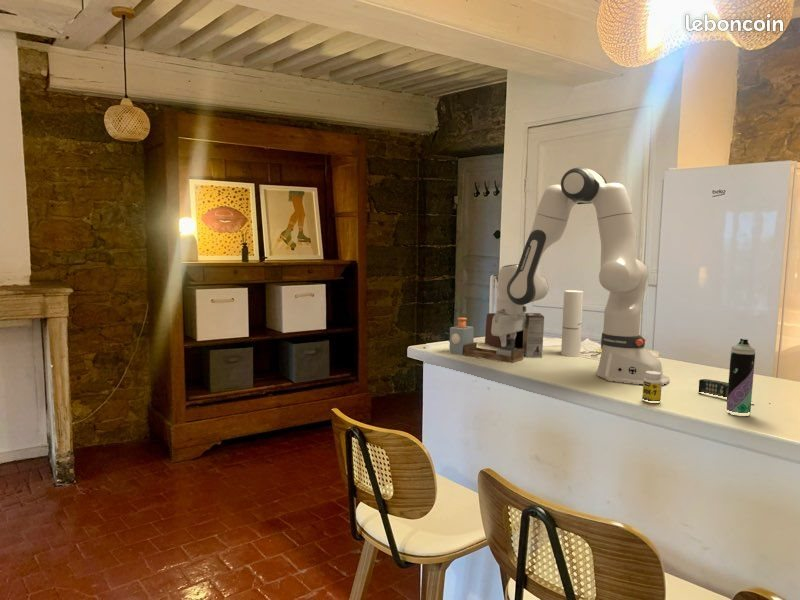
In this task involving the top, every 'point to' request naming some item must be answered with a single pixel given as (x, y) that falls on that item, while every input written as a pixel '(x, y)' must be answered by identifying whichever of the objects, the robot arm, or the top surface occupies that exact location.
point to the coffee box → (533, 335)
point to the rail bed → (491, 353)
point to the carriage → (507, 348)
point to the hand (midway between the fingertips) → (507, 345)
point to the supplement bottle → (652, 386)
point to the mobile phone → (713, 387)
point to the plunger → (462, 322)
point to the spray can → (741, 377)
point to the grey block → (460, 339)
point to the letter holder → (496, 339)
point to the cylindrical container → (572, 323)
